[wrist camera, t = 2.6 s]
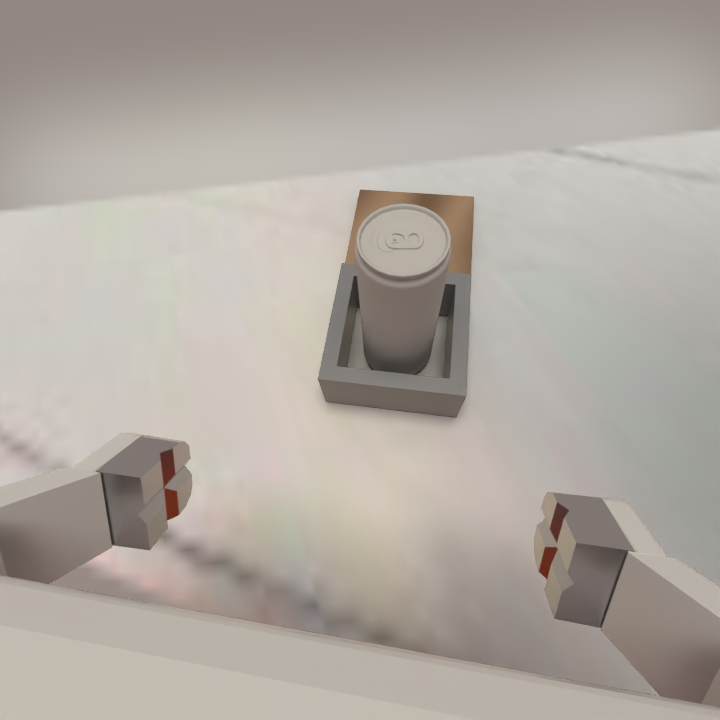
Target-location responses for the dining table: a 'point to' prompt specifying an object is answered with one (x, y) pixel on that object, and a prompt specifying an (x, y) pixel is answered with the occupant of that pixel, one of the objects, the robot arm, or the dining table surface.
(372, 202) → the coaster
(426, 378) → the can holder
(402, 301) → the beverage can
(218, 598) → the dining table surface
